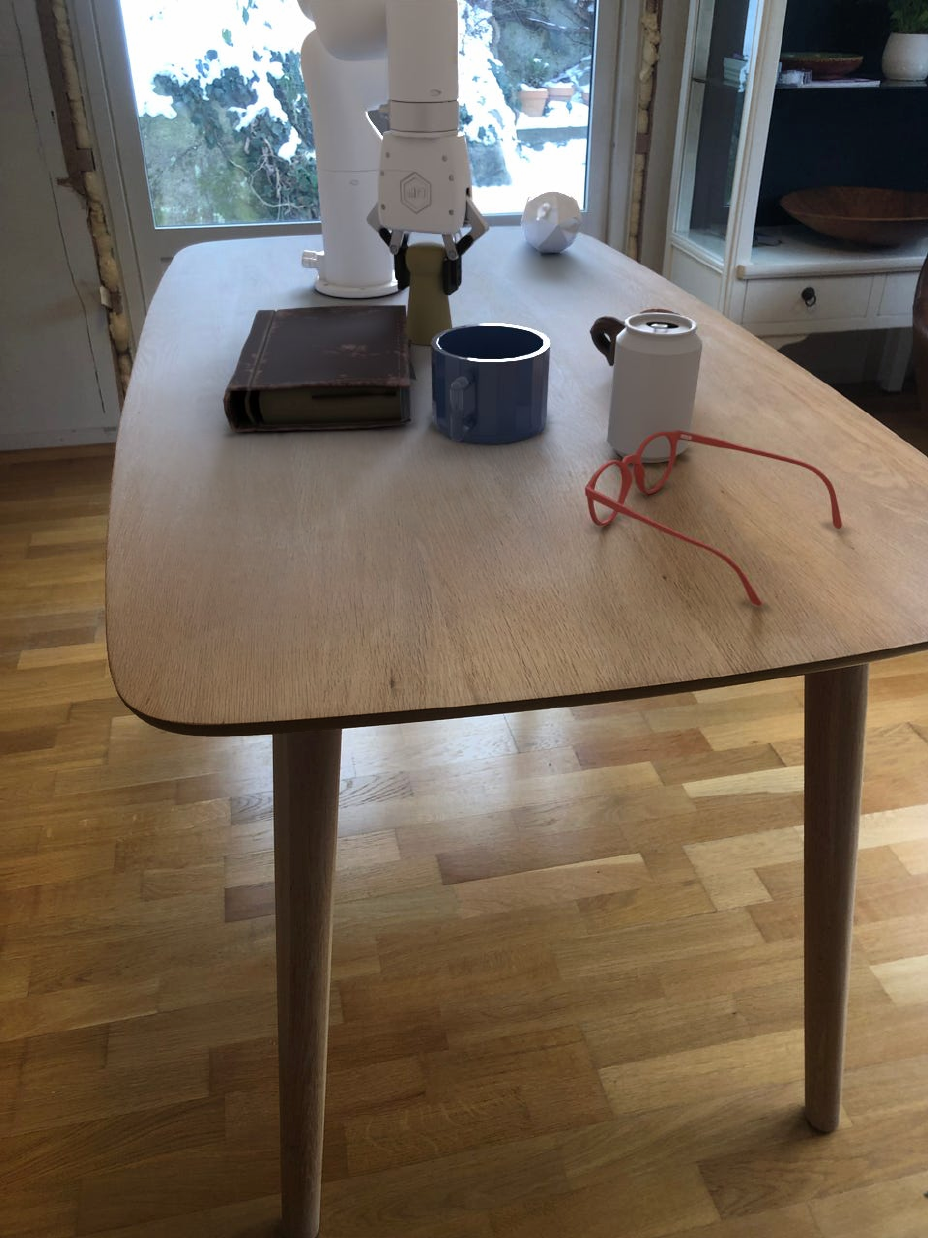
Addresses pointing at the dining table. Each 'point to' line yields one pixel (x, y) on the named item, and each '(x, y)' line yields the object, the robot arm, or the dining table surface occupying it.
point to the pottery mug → (612, 333)
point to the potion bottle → (551, 220)
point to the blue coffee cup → (490, 383)
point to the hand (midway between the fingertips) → (428, 288)
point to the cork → (426, 292)
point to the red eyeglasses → (640, 474)
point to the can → (653, 384)
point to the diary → (323, 370)
